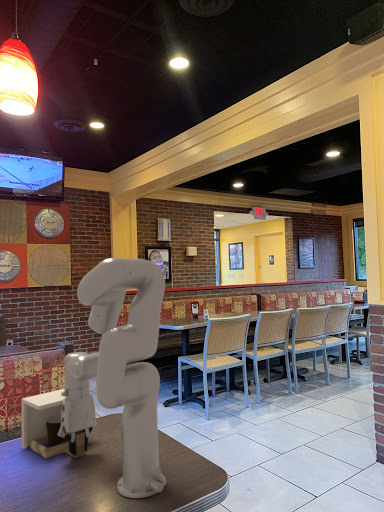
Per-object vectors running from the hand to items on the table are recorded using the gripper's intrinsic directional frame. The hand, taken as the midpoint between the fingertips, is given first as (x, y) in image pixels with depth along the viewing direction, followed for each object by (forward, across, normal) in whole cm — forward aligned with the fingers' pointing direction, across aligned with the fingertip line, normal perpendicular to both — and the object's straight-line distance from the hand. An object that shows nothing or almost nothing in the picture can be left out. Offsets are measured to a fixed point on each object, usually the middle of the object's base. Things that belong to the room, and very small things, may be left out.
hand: (78, 451), depth 117 cm
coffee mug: (+2, 0, +10) cm, 11 cm away
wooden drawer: (+1, 0, +9) cm, 9 cm away
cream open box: (+2, 0, +15) cm, 15 cm away
